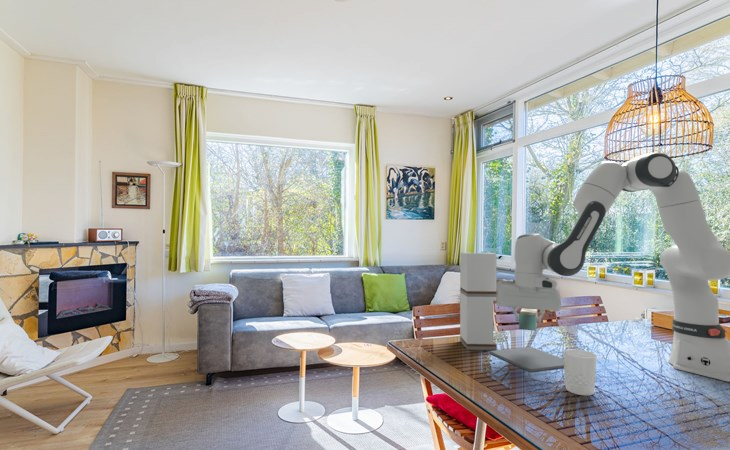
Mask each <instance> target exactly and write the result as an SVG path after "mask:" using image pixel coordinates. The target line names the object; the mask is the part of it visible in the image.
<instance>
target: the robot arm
mask: <svg viewBox="0 0 730 450" xmlns="http://www.w3.org/2000/svg"><path fill="white" fill-rule="evenodd" d="M647 190H649V192H650V191H651V192H652V194H653V195H654V197H655V201H656V204H657V209H658V212H659V217H660V220H661V223H662V226H663V230H664V231H665V233H666V234H668V235H669V236H670V238H671V239H672V240H673V242H674V243H675V245H672V246H669V247H667V248H665V249H664V250H663V251H662V252H661V254H660V257H659V261H660V265H661V267H662V268H663V270H664V271H665V272H666V274H667V278H668V281H669V284H670V287H671V292H672V296H673V298H672V299H673V319H672V326H671V327H672V329H671V330H672V335H673V339H672V345H671V351H670V352H671V353H670V355H669V357H668V358H669V359H668V363H669V364H670V365H672V366H673V368H674V370H675V369H676V370H680V371H683V372H687V373H692V374H696V375H700V376H704V377H708V378H710V379H711V378H712V379H715V380H720V381H724V382H728V383H730V340H729V339H728V338H727V336H726V333H730V331H729V330H730V328H723V327H722V325H721V324H720V322H719V321H720V319H719V315H720V314H719V300H718V299H719V298H717V295H715V293H714V292H713V291H712V288H711V287H710V284H709V281H710V282H711V281H719V280H724V279H726V278H729V277H730V251H729V250H728V249H726V248H725V247H724V246H723V245H722V244H721V242H720V241H719V239H718V238H717V237H716V235H715V233H714V232H713V231H712V229H711V227H710V225H709V223H708V221H707V218H706V215H705V211H704V207H703V205H702V202H701V201H702V200H701V198H700V195H699V191H698V189H697V187H696V184H695V182H694V181H693V179H692V177H691V175H690V174H689V173H688V171H685V170H682V169H679V167H678V166H676V164H675V162H674V160H673V159H672V158H671V157H670V155H667V154H666V153H662V152H649V153H645V154H641V155H638V156H636V157H634V158H632V159H631V160H629V161H626V162H623V163H619V162H616V161H611V160H607V161H603V162H600V163H599V164H598V165H597V166H596V167H595V168H594V169H593V170H592V171H591V172H590V174H589V175H588V176H587V177H586V178H585V180H584V182H583V183H582V185H581V186H580V188H579V189H578V191H577V193H576V194H575V196H574V197H575V198H574V200H573V205H574V209H575V210H576V211H577V212H578V218H577V220H576V221H575V223H574V226H572V229H571V230H570V232H569V234H568V235H567V237H566V238H565V239H564V241H562V242H560V243H558V242H555V241H552V240H550V239H548V238H546V237H544V236H543V235H541V233H538V232H537V233H536V232H532V233H527V234H522V235H519V236H518V237H517V238H516V241H515V243H514V244H515V246H514V262H515V268H514V279H500V280H498V281H496V289H497V301H496V304H497V306H499V307H504V308H505V307H506V308H511V310H512V311H511V312H512V313H513V314H514V316H515V322H519V313H518V312H517V310H518V309H522V308H526V309H537V311H538V310H539V314H540V315H539V316H537V317H536V323H537V324H541V323H542V319H543V316H544V315H545V311H550V312H552V311H553V312H560V311H561V310H562V301H561V300H562V298H561V294H560V291H559V289H558V288H557V287H558V282H557V281H556V280H555V279H552V278H549V277H545V276H543V272H544V270H547V271H550V272H552V273H556V274H557V275H559V276H561V277H562V276H563V277H572V276H574V275H576V274H578V273H579V272H581V270H582V269H583V268H584V264H585V261H586V254H587V250H588V248H589V246H590V244H591V242H592V240H593V239H594V237H595V235H596V233H597V231H598V230H599V228H600V227H601V224H602V222H603V220H604V218H605V216H606V215H607V213H608V211H609V210H610V209H611V207H612V205H613V204H614V203H615V201H616V199H617V198H618V196H619V194H620V193H621V192H628V193H629V192H630V193H634V192H641V191H647Z"/></svg>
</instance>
